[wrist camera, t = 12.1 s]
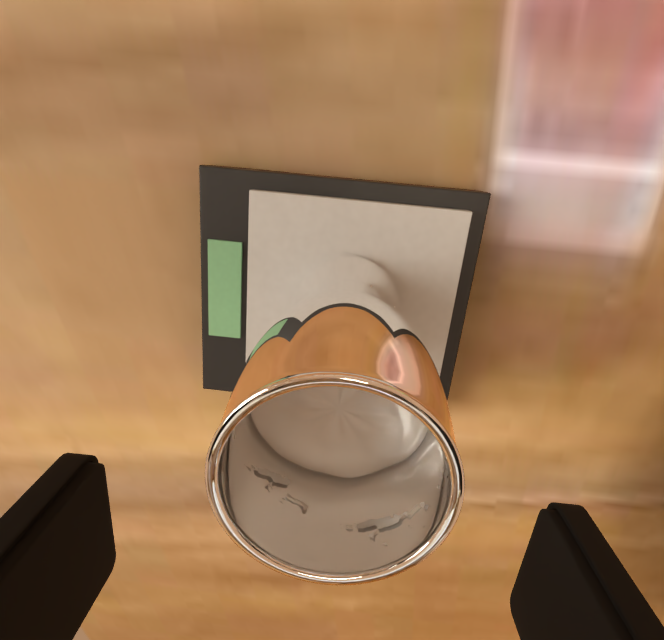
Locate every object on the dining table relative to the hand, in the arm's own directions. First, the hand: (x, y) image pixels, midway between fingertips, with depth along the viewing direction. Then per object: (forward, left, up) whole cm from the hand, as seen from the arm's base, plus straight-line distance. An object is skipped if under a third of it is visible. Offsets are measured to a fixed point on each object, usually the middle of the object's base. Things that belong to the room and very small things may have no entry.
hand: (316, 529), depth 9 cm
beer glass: (0, 0, -17) cm, 17 cm away
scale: (-1, 0, -19) cm, 19 cm away
